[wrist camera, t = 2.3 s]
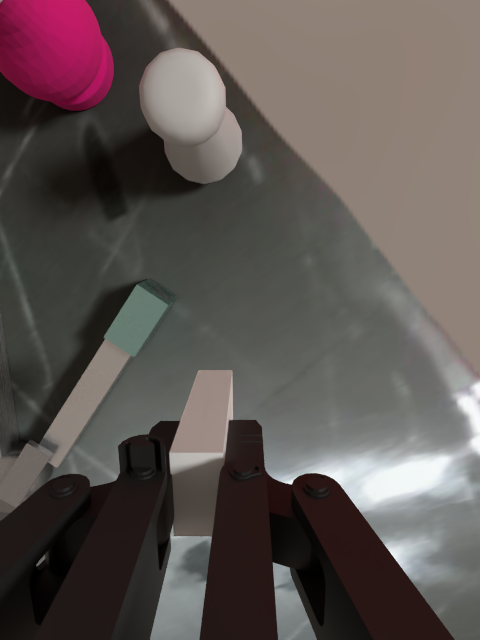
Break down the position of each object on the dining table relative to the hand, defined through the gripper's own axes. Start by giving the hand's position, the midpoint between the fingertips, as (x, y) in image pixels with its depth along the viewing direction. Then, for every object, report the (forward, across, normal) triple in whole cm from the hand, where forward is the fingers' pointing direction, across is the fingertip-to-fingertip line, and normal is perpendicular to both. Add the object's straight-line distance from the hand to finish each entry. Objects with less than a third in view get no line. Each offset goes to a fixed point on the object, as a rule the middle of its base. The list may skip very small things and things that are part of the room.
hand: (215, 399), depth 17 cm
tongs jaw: (+17, +12, +6) cm, 22 cm away
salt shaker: (+17, +2, -14) cm, 22 cm away
